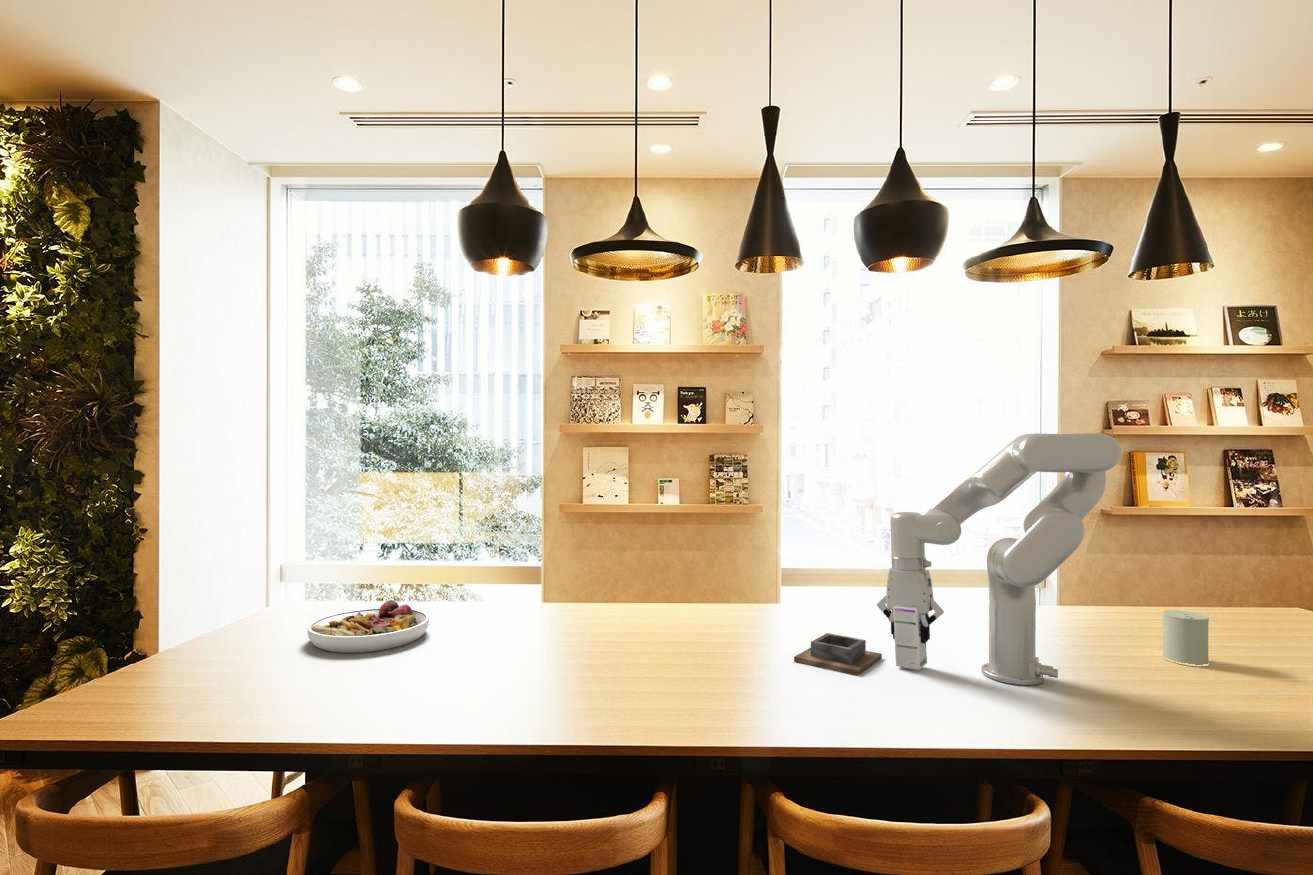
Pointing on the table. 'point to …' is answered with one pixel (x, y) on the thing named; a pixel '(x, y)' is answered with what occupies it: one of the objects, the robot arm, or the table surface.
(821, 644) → the holder
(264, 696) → the table surface
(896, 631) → the syrup box
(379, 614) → the bowl
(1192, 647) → the can
